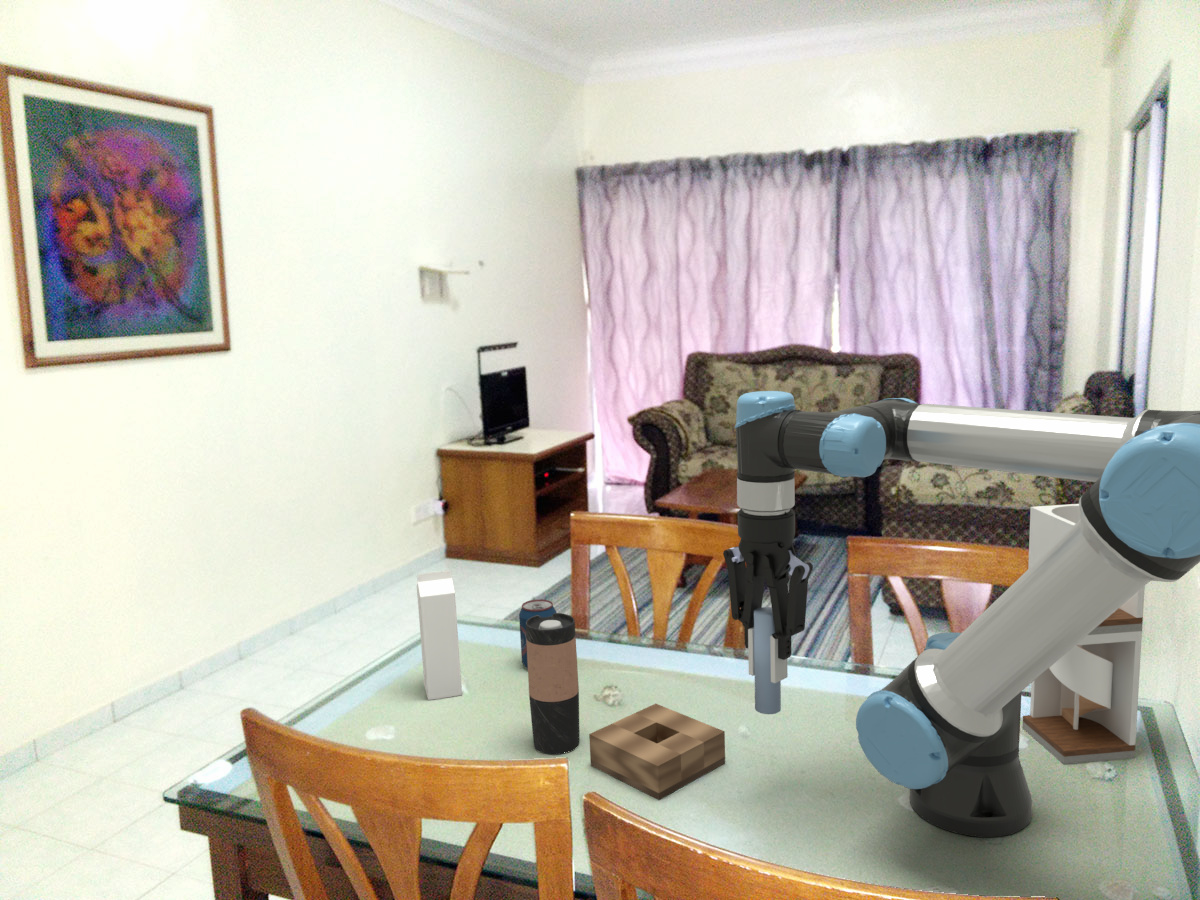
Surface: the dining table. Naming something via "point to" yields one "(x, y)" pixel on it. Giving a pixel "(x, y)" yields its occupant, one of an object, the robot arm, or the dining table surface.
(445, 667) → the milk
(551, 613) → the soda can
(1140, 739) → the dining table surface
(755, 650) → the pin
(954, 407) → the robot arm
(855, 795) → the dining table surface
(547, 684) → the travel mug
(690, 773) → the bore block
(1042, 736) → the spiral staircase model
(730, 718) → the dining table surface
